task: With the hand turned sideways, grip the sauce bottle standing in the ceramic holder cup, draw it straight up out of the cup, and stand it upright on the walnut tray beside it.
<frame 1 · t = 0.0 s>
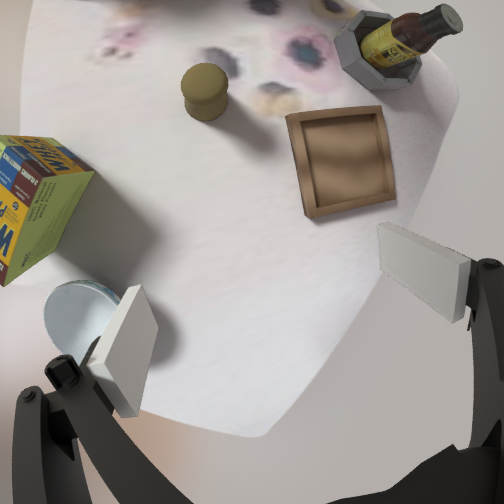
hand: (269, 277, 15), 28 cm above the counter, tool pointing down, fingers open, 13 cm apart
protein box: (51, 194, 37), on the counter
tray: (341, 158, 42), on the counter
chinaware: (100, 306, 44), on the counter
holder cup: (372, 54, 37), on the counter
sauce bottle: (371, 54, 37), resting in holder cup
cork: (206, 101, 37), on the counter
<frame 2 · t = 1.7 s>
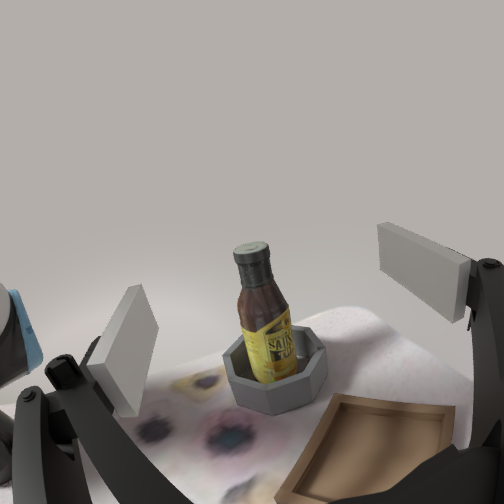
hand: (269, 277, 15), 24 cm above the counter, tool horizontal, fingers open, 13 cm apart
tray: (375, 465, 22), on the counter
holder cup: (278, 378, 39), on the counter
sauce bottle: (278, 379, 39), resting in holder cup
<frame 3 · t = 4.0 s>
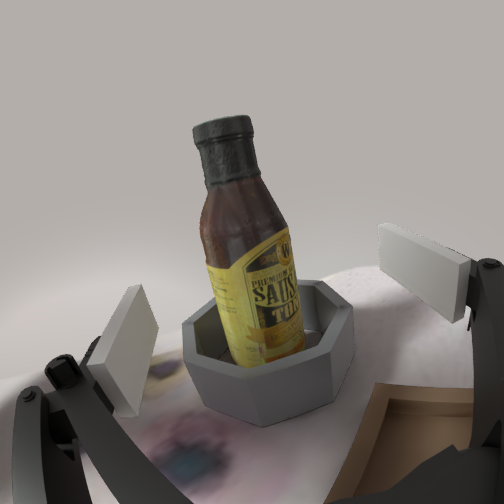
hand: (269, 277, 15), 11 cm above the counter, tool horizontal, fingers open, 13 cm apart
holder cup: (273, 363, 24), on the counter
sauce bottle: (273, 365, 24), resting in holder cup
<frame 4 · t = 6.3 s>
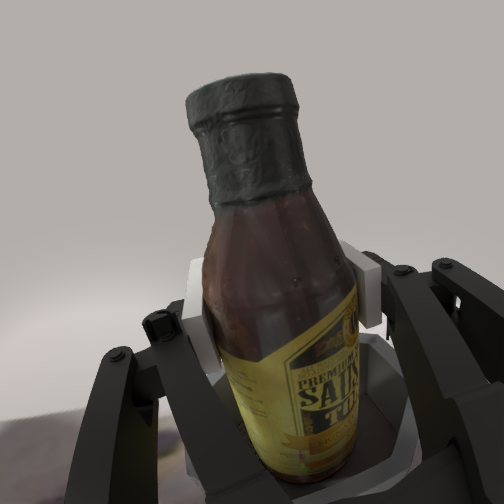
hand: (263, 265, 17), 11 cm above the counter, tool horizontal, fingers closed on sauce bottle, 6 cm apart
holder cup: (308, 446, 16), on the counter
sauce bottle: (309, 447, 16), resting in holder cup, touching gripper
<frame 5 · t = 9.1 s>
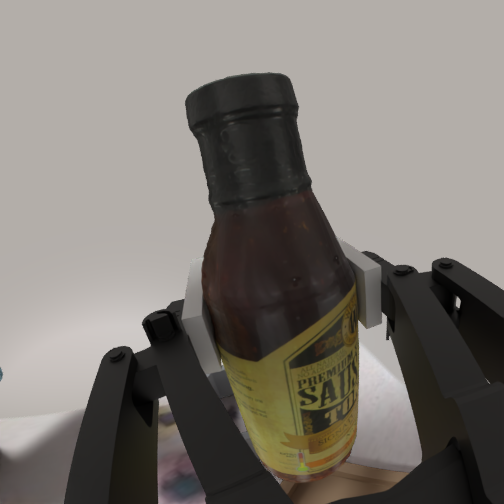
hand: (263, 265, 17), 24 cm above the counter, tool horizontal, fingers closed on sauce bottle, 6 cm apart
holder cup: (244, 421, 32), on the counter
sauce bottle: (308, 447, 16), point 13 cm above the counter, touching gripper
when the fingers open (13 cm above the counter, at t = 12.2 s): sauce bottle stays where it is, resting on tray.
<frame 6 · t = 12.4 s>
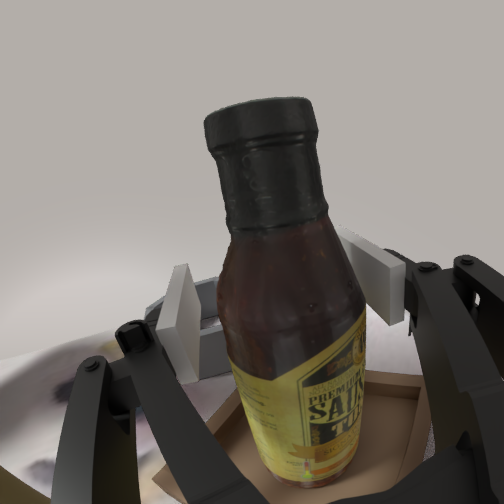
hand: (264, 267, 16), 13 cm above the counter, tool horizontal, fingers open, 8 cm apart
tray: (310, 459, 16), on the counter
holder cup: (210, 340, 33), on the counter
sauce bottle: (311, 453, 16), point 1 cm above the counter, touching tray
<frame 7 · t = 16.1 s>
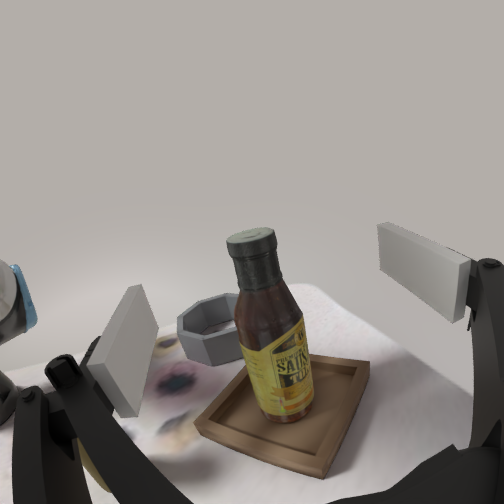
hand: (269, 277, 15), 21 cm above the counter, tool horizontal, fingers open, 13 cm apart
tray: (288, 409, 30), on the counter
holder cup: (224, 338, 47), on the counter
sauce bottle: (288, 405, 30), point 1 cm above the counter, touching tray
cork: (119, 474, 23), on the counter
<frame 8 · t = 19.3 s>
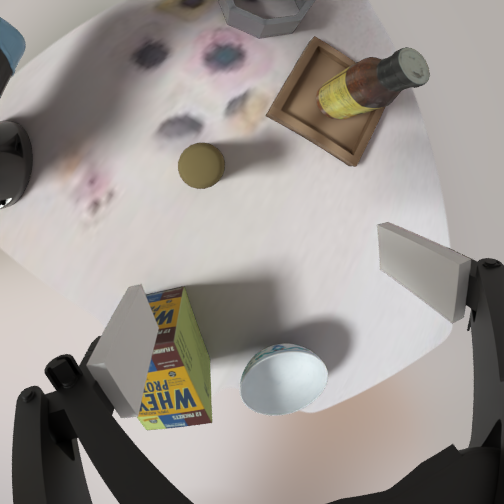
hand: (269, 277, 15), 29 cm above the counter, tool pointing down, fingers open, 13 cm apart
protein box: (169, 330, 47), on the counter
tray: (330, 101, 39), on the counter
chinaware: (275, 358, 52), on the counter
holder cup: (262, 4, 33), on the counter
sauce bottle: (333, 100, 39), point 1 cm above the counter, touching tray
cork: (203, 164, 40), on the counter
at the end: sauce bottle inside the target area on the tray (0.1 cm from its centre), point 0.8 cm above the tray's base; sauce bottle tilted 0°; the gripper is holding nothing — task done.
